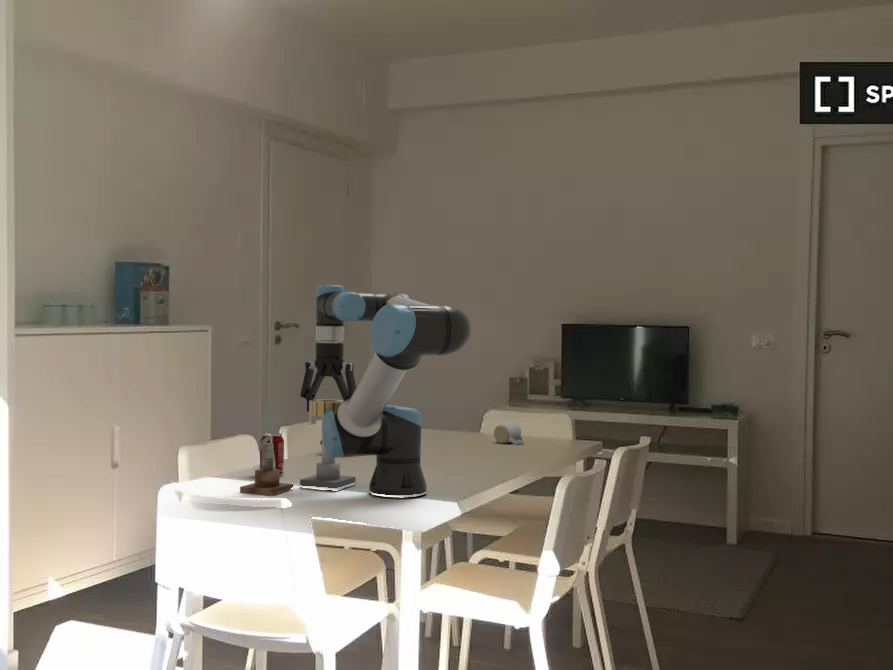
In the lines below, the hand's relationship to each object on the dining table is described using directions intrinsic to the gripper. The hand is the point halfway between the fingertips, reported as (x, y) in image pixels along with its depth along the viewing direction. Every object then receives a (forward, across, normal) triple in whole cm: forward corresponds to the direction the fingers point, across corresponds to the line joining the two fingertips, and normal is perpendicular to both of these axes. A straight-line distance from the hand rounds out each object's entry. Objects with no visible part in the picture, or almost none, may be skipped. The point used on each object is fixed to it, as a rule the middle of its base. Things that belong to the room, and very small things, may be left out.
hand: (328, 425), depth 264 cm
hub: (+17, 0, 0) cm, 17 cm away
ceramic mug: (+17, -16, -110) cm, 113 cm away
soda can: (+17, +23, -8) cm, 30 cm away
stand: (+17, +11, +13) cm, 24 cm away
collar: (-3, 0, 0) cm, 3 cm away
